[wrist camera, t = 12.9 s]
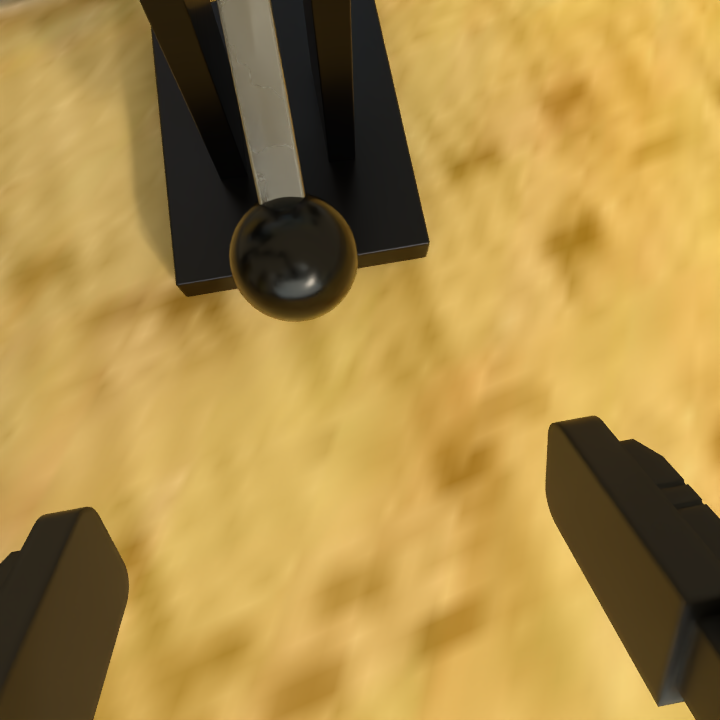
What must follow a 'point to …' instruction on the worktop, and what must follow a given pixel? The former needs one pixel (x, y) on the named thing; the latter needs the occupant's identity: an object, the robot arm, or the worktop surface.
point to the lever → (279, 187)
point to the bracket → (311, 126)
